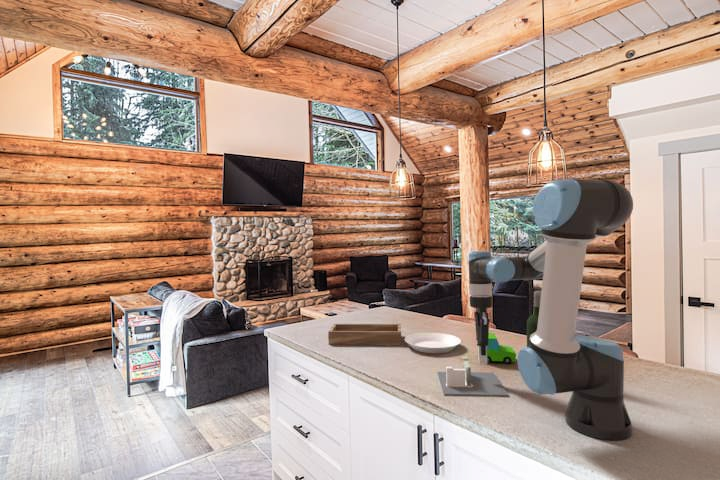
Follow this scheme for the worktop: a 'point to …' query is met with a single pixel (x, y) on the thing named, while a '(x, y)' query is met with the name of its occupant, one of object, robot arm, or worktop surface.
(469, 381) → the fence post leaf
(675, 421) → the worktop surface
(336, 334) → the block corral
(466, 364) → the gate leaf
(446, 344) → the white plate
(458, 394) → the mat
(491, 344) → the toy car
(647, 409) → the worktop surface
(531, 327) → the wine bottle
